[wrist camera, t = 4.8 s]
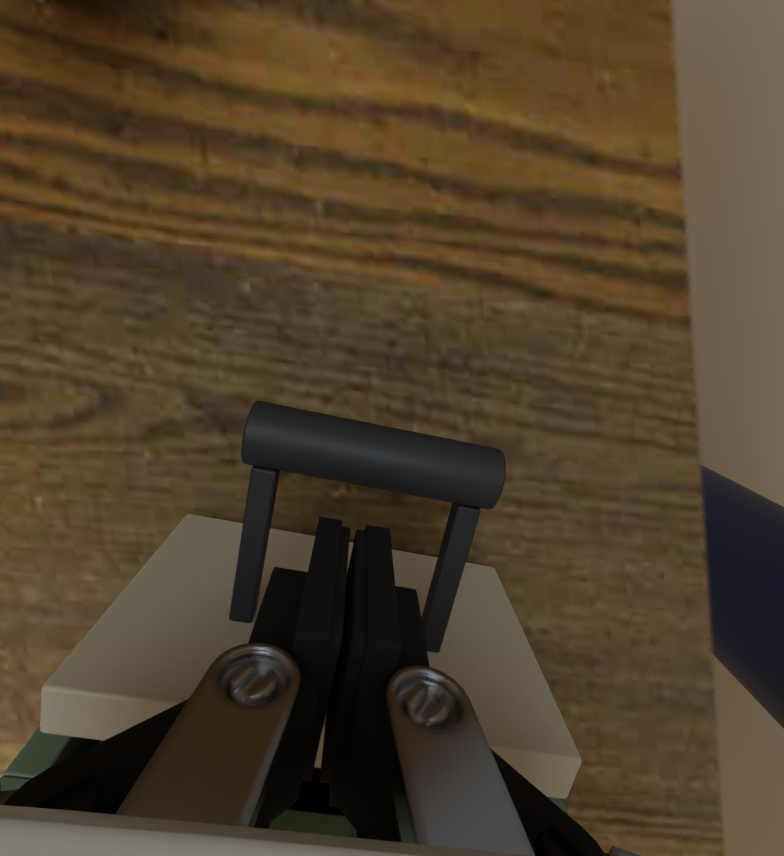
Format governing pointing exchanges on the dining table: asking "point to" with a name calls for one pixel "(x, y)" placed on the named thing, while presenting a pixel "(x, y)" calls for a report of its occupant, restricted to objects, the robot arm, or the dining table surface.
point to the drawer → (267, 548)
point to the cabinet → (58, 748)
